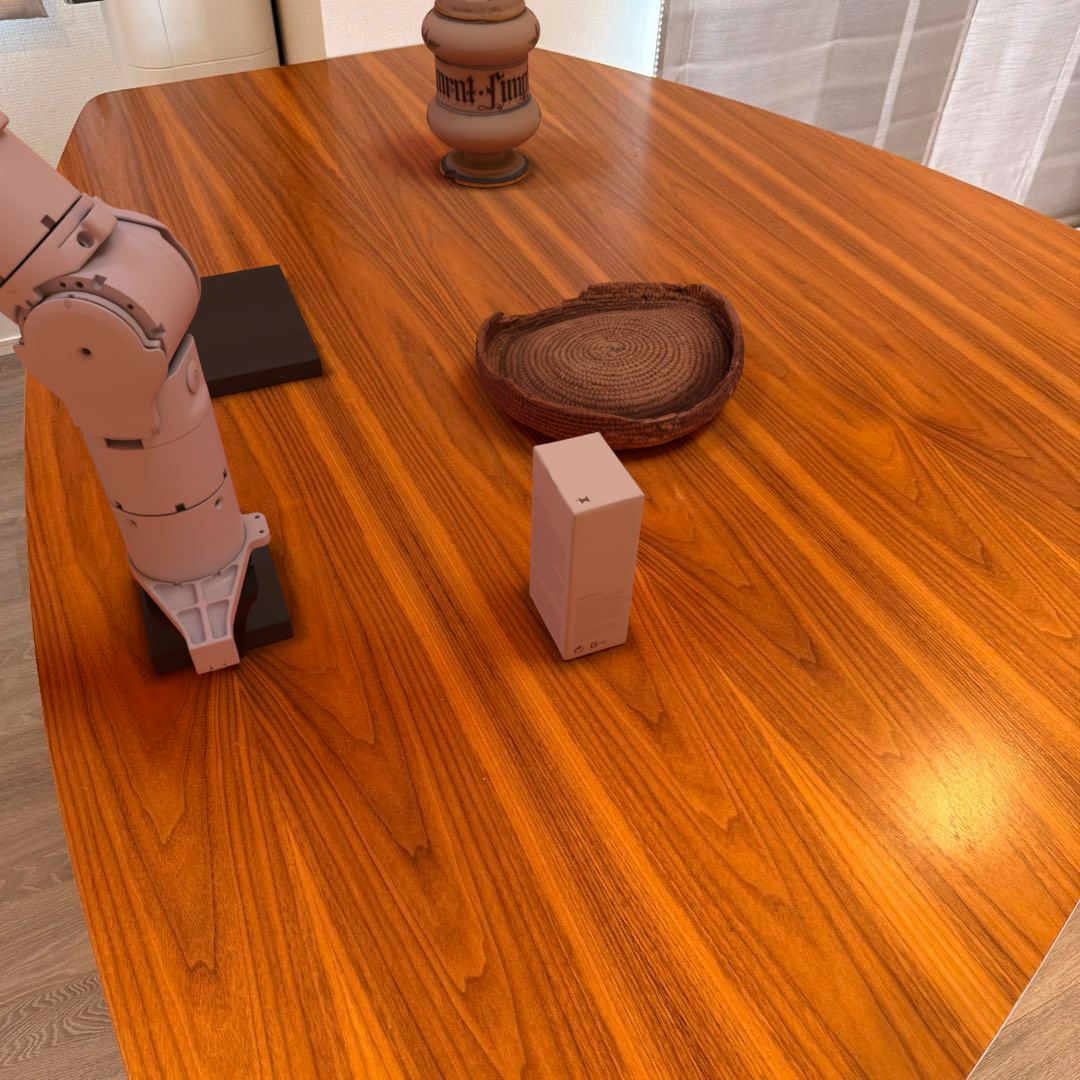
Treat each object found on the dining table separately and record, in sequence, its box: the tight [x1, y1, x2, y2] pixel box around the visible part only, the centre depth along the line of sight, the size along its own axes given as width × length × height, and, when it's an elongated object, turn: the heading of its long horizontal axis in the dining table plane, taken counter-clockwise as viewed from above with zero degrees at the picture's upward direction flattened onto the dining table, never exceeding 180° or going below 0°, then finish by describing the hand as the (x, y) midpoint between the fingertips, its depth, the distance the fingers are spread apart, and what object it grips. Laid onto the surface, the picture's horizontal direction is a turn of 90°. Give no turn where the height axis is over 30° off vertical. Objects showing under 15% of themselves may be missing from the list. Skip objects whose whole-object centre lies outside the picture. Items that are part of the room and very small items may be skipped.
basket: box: [475, 280, 745, 451], centre depth 77 cm, size 22×20×5 cm
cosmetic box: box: [529, 432, 645, 661], centre depth 56 cm, size 6×4×12 cm
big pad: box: [185, 263, 324, 399], centre depth 80 cm, size 16×16×2 cm
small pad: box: [137, 543, 295, 675], centre depth 61 cm, size 8×12×2 cm
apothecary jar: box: [420, 0, 542, 189], centre depth 100 cm, size 12×12×18 cm
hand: (225, 654), depth 56 cm, fingers closed
